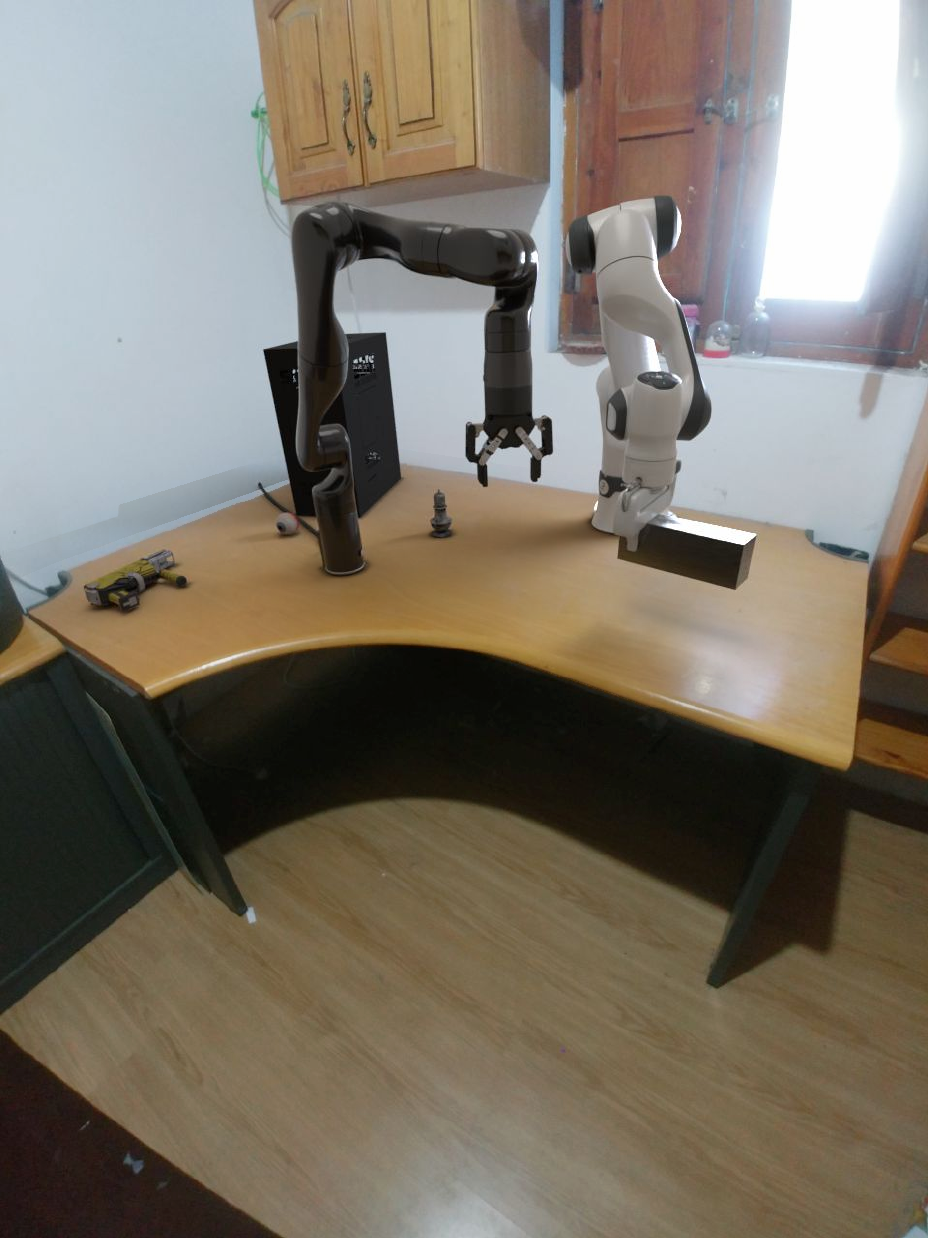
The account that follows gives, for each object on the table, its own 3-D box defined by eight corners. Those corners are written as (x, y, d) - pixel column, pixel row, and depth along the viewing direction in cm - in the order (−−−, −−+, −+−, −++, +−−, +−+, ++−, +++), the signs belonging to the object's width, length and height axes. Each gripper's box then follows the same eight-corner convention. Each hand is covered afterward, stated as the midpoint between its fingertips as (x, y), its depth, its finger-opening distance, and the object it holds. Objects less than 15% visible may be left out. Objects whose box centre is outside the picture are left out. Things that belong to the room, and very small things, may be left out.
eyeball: (273, 537, 164) (268, 516, 161) (287, 528, 169) (282, 508, 166) (291, 539, 161) (286, 518, 158) (305, 530, 166) (301, 510, 163)
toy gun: (210, 557, 146) (160, 546, 150) (132, 599, 126) (77, 585, 130) (213, 575, 148) (164, 564, 152) (137, 618, 128) (82, 604, 132)
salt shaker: (450, 537, 157) (447, 492, 151) (428, 536, 158) (424, 492, 152) (455, 529, 162) (452, 485, 156) (433, 528, 163) (430, 485, 157)
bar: (617, 558, 116) (620, 517, 112) (631, 549, 119) (635, 509, 115) (735, 590, 102) (744, 544, 98) (747, 578, 106) (756, 534, 102)
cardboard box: (360, 517, 174) (335, 347, 151) (296, 514, 178) (263, 349, 156) (401, 477, 205) (385, 332, 183) (345, 476, 210) (324, 334, 187)
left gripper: (467, 388, 90) (472, 494, 98) (559, 381, 91) (556, 485, 99) (459, 381, 96) (464, 481, 104) (545, 374, 98) (544, 473, 106)
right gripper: (643, 490, 98) (634, 566, 105) (685, 459, 112) (675, 528, 119) (607, 484, 102) (601, 559, 109) (652, 455, 116) (644, 523, 123)
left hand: (509, 483), depth 102 cm, fingers open, 8 cm apart
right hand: (640, 542), depth 114 cm, fingers closed on bar, 6 cm apart
